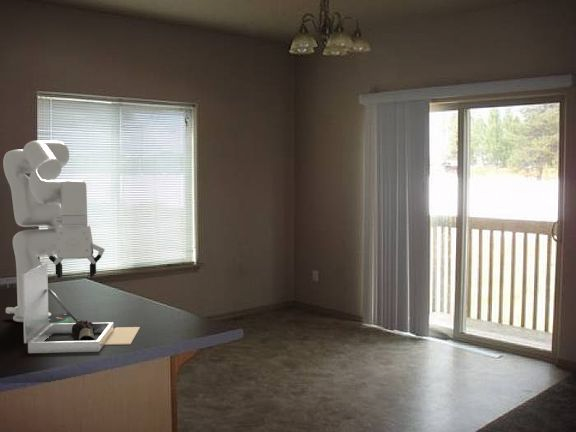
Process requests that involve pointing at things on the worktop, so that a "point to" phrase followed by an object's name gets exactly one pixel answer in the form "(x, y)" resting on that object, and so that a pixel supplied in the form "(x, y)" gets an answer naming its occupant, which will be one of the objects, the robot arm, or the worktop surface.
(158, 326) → the worktop surface
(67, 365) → the worktop surface
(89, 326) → the dark piece
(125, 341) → the pad
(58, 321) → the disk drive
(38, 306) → the case
